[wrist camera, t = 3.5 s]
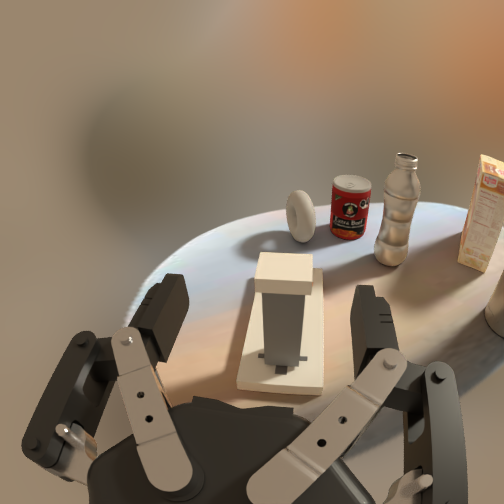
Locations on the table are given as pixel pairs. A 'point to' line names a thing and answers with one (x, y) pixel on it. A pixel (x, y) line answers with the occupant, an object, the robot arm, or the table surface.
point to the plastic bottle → (398, 211)
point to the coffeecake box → (483, 215)
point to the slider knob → (283, 303)
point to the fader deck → (311, 353)
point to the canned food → (349, 206)
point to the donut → (300, 216)
